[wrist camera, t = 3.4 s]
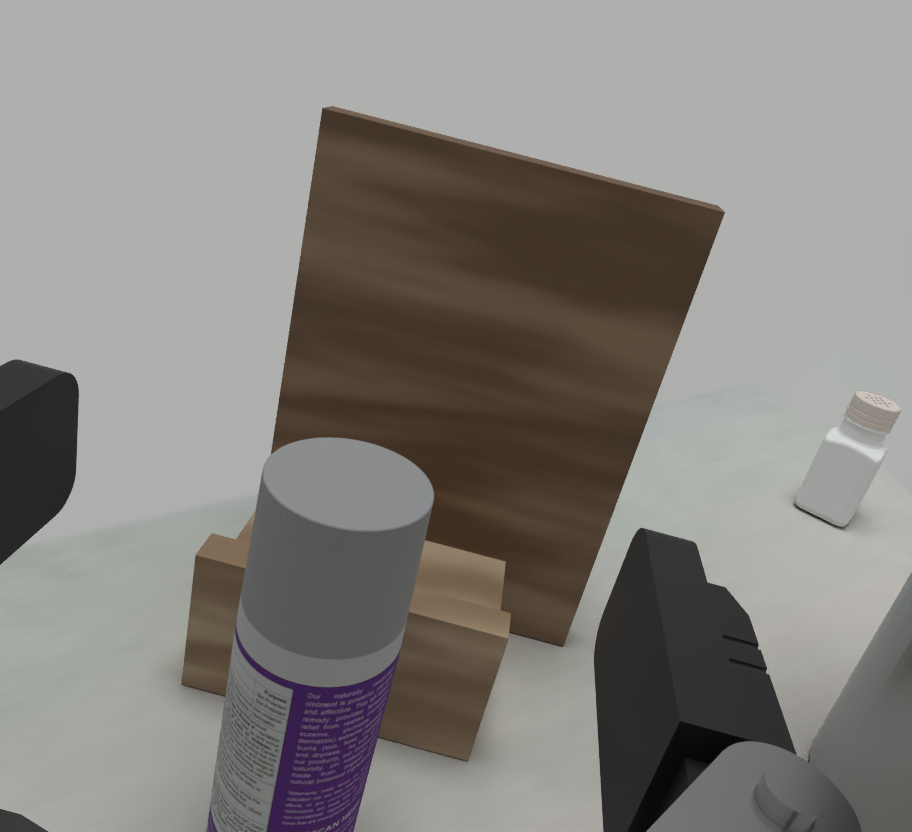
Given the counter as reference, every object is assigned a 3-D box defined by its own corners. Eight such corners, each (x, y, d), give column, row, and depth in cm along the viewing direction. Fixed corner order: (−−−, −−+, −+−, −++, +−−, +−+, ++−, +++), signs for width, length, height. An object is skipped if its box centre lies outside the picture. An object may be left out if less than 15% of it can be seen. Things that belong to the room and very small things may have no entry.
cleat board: (563, 787, 32) (780, 262, 23) (181, 683, 32) (243, 123, 23) (562, 627, 41) (717, 205, 32) (264, 547, 41) (332, 106, 32)
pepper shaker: (803, 491, 63) (855, 384, 59) (854, 515, 62) (911, 406, 58) (790, 506, 60) (844, 394, 56) (842, 532, 58) (902, 418, 54)
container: (353, 807, 29) (442, 455, 23) (332, 938, 25) (435, 550, 19) (225, 785, 29) (280, 420, 22) (182, 913, 24) (235, 509, 18)
